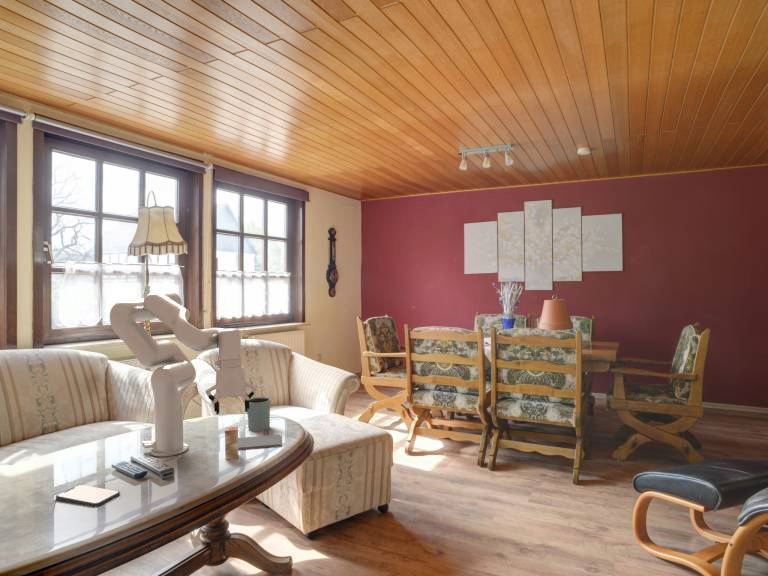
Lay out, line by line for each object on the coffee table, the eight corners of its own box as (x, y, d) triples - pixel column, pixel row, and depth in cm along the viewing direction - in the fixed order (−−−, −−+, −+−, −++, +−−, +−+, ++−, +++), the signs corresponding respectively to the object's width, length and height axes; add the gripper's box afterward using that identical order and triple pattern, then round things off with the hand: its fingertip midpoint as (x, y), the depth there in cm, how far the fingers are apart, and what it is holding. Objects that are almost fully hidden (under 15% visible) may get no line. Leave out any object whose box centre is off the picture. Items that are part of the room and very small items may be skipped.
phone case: (122, 496, 146) (80, 488, 151) (122, 491, 146) (80, 483, 151) (96, 510, 137) (53, 501, 142) (96, 504, 137) (53, 496, 142)
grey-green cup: (253, 433, 202) (253, 404, 202) (242, 428, 210) (241, 399, 210) (275, 428, 209) (275, 399, 209) (263, 423, 217) (263, 395, 216)
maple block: (225, 459, 173) (224, 430, 173) (226, 455, 177) (226, 427, 177) (237, 458, 174) (236, 429, 174) (238, 454, 178) (237, 426, 178)
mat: (225, 450, 182) (225, 448, 182) (228, 440, 194) (228, 438, 193) (281, 446, 186) (281, 444, 186) (280, 436, 198) (280, 434, 198)
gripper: (203, 367, 169) (204, 417, 170) (255, 363, 173) (257, 412, 173) (206, 363, 177) (207, 411, 177) (256, 360, 180) (257, 407, 181)
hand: (232, 412), depth 175 cm, fingers open, 9 cm apart
